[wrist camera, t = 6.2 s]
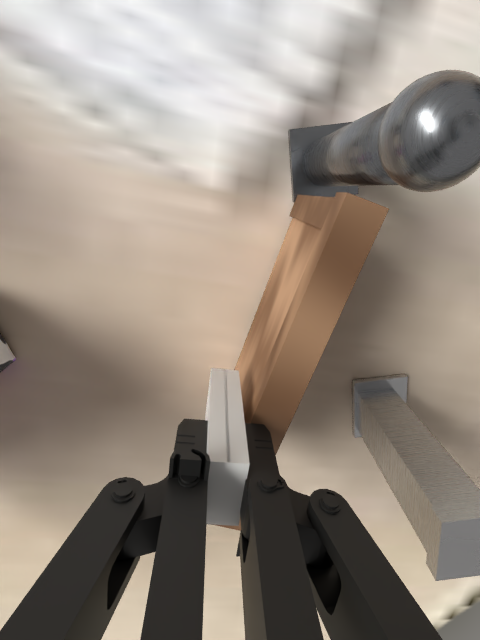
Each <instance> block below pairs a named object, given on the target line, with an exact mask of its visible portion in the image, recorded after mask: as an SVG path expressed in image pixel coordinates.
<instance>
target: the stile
mask: <svg viewBox="0 0 480 640" xmlns="http://www.w3.org/2000/svg"><path fill="white" fill-rule="evenodd" d="M407 380H408V377H407V376H406V375H405V374H400V375H391V376H383V377H375V378H367V379H359V380H352V408H353V435H354V437H362V438H363V440H364V442H365V443H366V445H367V447H368V449H369V451H370V452H371V454H372V456H373V458H374V459H375V461H376V463H377V465H378V467H379V468H380V470H381V472H382V474H383V475H384V477H385V479H386V481H387V483H388V484H389V486H390V488H391V490H392V491H393V493H394V495H395V497H396V498H397V500H398V502H399V504H400V506H401V507H402V509H403V511H404V513H405V514H406V516H407V518H408V520H409V522H410V523H411V525H412V527H413V529H414V530H415V532H416V534H417V536H418V538H419V539H420V541H421V543H422V545H423V546H424V548H425V550H426V552H427V560H426V564H427V566H428V567H429V569H430V571H431V573H432V575H433V577H434V578H435V580H436V581H439V580H447V579H455V578H463V577H471V576H479V575H480V489H479V488H478V487H477V486H476V485H475V483H474V482H473V481H472V480H471V479H470V478H469V476H468V475H467V474H466V473H465V472H464V471H463V469H462V468H461V467H460V466H459V465H458V464H457V462H456V461H455V460H454V459H453V458H452V457H451V455H450V454H449V453H448V452H447V451H446V450H445V448H444V447H443V446H442V445H441V444H440V443H439V441H438V440H437V439H436V438H435V437H434V436H433V434H432V433H431V432H430V431H429V430H428V429H427V427H426V426H425V425H424V424H423V423H422V422H421V420H420V419H419V418H418V417H417V416H416V414H415V413H414V412H413V411H412V410H411V409H410V407H409V406H408V405H407V404H406V400H407Z"/></svg>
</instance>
